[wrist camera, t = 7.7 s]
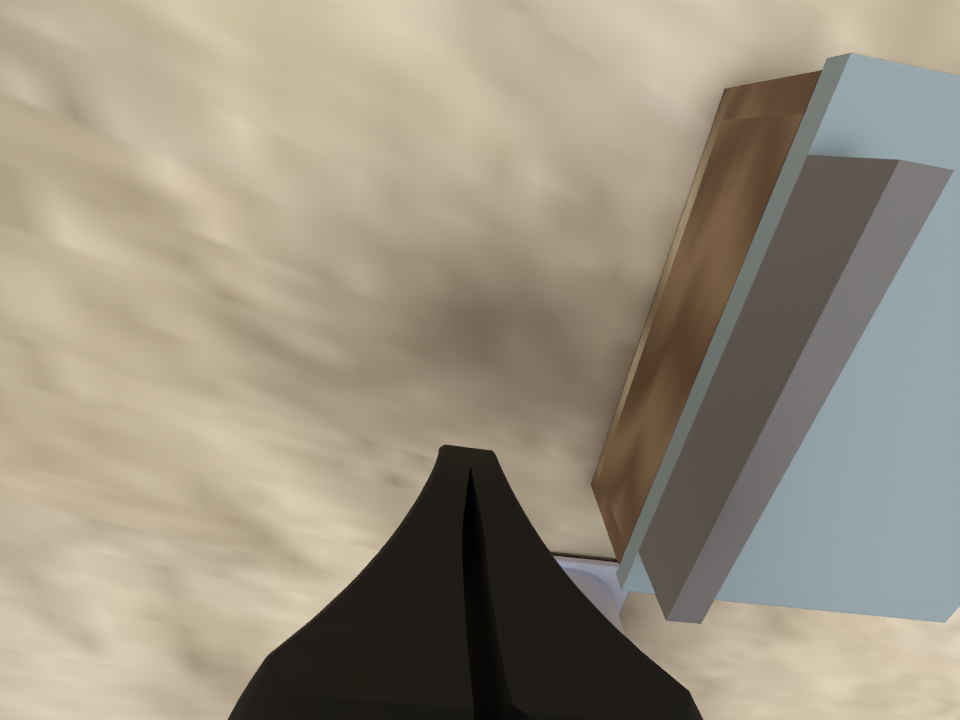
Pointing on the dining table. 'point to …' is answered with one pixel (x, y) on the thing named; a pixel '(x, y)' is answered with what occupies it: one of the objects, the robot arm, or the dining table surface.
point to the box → (696, 287)
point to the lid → (829, 377)
